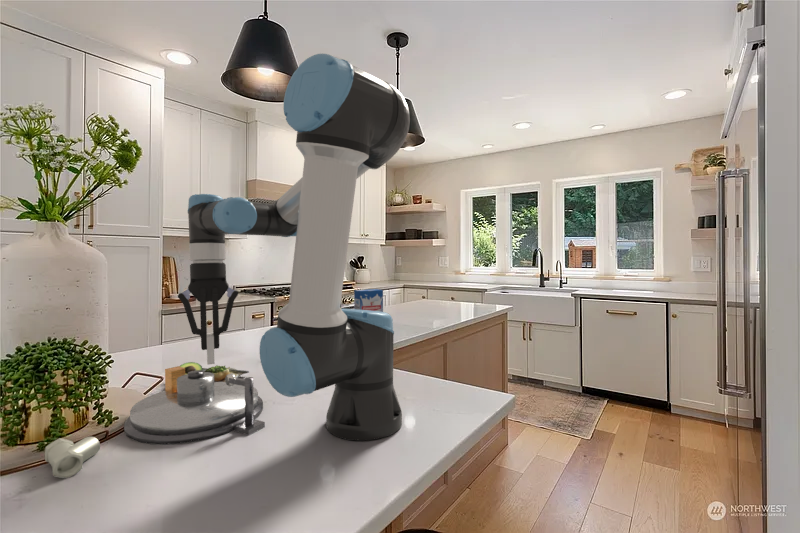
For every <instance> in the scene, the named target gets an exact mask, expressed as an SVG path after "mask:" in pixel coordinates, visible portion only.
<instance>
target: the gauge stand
mask: <svg viewBox="0 0 800 533" xmlns="http://www.w3.org/2000/svg"><path fill="white" fill-rule="evenodd" d="M225 382H226V384H227V385H228V386H233V385H235V384H236V385H241V386H245V421H243V422H241V423H239V424H237V425H235V426H234V431H233V432H236V433H239V434H244V435H248V436H250V435H252V434H254V433H255V432H258V431H259V429H260V430H261V429H264V428H265V427H266V424H265V423H266V422H265V421H264V420H262V421H261V420H258V419H254V394H253V387H254V377H252V376H251V377H250V376H248V377H245V378H241V377H238V378H237V377H236V376H235V374H233V373H231V374H228V375H226V377H225ZM263 427H264V428H263ZM257 430H258V431H257Z"/></svg>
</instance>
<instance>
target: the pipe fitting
mask: <svg viewBox="0 0 800 533" xmlns="http://www.w3.org/2000/svg"><path fill="white" fill-rule="evenodd" d="M100 449H101V443H100V441H99V439H98V438H96V437H95V436H86V437H84V438H82V439H80V440H79V441H77V442H75V443H74V442H73V440H70V439H66V438H60V437H59V438H57V439H56V440H53V441H52V442H50V443H49V444H48V445H47V446H45V448H44V460H45V462H46V463H49V464H50V466H51V468H52V470H51V471H52V472H51V473H52V475H53V476H54V477H56V478H59V479H68V478H71V477H73V476H74V475H76V474H78V472H80V471H81V470H82V469H83V464H84V462H85V461H88V460H89V459H90V458H92V457H93V456H94V455H96V454H98V453H99V451H100Z"/></svg>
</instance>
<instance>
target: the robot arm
mask: <svg viewBox="0 0 800 533" xmlns="http://www.w3.org/2000/svg"><path fill="white" fill-rule="evenodd" d="M286 86H287V87H286V89H285V91H284V92H285V93H284V97H283V114H284V116H285V120H286V122H287V124H288V126H290V127H291V128H292V130H294V131H296V141H295V147H296V148H297V149H298V150H299V152H300V153H301V155H302V157H303V158H304V160H303V167H302V177H301V178H299V180H298V181H297V182H295V183H294V184H293V185H292V186H291V187H290V188H289V189H288V190H287V191H285V192H284V193H283V194H282V195H281V196H280V197H279V198H278V199H277V200H275V202H273V203H266V202H265V203H264V202H255V201H249V200H248V199H246V198H244V197H240V196H237V197H231V196H230V197H226V198H223V197H222V196H220V195H216V194H208V193H199V194H192V195H190V196H189V197H188V205H187V215H188V218H187V219H188V238H189V239H188V240H189V246H188V248H189V252H188V253H189V260H190V261H191V262H192V263H190V264H189V278H190V283H189V284H188V286H187V289H185V290H184V291H183V292H179V293H178V295H177V298H178V299H179V301H180V302H181V303H182V304H183V307H184V310H185V314H186V318H187V321H188V323H189V326H190V327H189V328H190V329H191V330H190V331H191V333H192V334H193V335H197V336H199V337H200V342H201V343H200V346H201V347H200V348H201V350H202V351H205V350H206V357H207V358H206V364H207V365H215V350H216V349H219V348H220V335H221V334H222V333H225V332H227V331H228V328H229V324H230V321H231V316H232V315H231V314H232V311H233V307H234V301H235V300H236V298H237V297H238V295H239V292H238V290H236V289H233V288H231V287H230V286H229V283H228V282H227V268H226V263H225V262H224V261H225V260H226V259H227V258H226V235H244V236H267V237H268V236H270V237H281V238H289V237H295V242H294V243H295V245H294V252H293V253H294V254H293V261H292V270H291V280H290V289H289V290H290V291H289V297H288V298H289V300H288V302H287V303H286V304H285V305H284V306H283V307H282V308H280V309H279V310H278V314H277V324H276V327H272V328H271V327H270V329H268V330H266V331H265V332H264V333H263V335H262V336H261V338H260V342H259V359H260V364H261V368H262V371H263V373H264V375H265V377H266V379H267V381H268V382H269V384H270V385H271V386H272V388H273V389H274V390H275V391H276V392H277V393H279V394H280V395H282V396H284V397H288V398H294V397H299V396H302V395H310V394H312V393H314V392H316V391H319V390H323V389H325V388H327V387H331V386H334V389H333V393H332V396H331V400H330V403H329V405H328V406H329V407H328V409H327V412H326V429H327V431H328V432H329V433H330V434H332V435H333V436H335V437H337V438H341V439H344V440H349V441H350V440H351V441H370V440H371V441H372V440H373V441H374V440H377V439H382V438H383V439H384V438H386V437H388V436H391V435H393V434H395V433H396V432H398V431H399V430H400V429H401V427H402V424H403V414H402V408H401V405H400V402H399V399H398V395H397V393H396V389H395V386H394V335H395V331H394V322H393V317H392V316H391V314H389V313H388V312H385V311H383V312H380V311H371V310H359V309H354V308H342V307H341V308H340V303H341V304H342V295H343V294H342V293H343V287H344V279H345V270H346V262H347V255H348V247H349V239H350V232H351V223H352V217H353V208H354V200H355V192H356V186H357V185H356V184H357V179H359V178H360V177H362V176H363V174H365V173H366V172H368V171H369V170H378V169H380V168H381V167H382V166H383V165H385V164H386V163H388V161H390V160H391V159H392V158H393V157H394V156H395V155H396V154H398V152H399V150H400V149H401V148H402V146H403V145H404V143H405V141H406V140H407V137H408V133H409V132H410V131H409V130H410V122H411V118H410V117H411V116H410V110H409V106H408V103H407V102H406V99H405V97H404V95H403V93H401V92H400V91H399V90H398V89H397V88H396V86H393V84H391V83H390V82H387V81H385V80H382V79H380V78H378V77H376V76H374V75H373V74H370V73H368V72H366V71H364V70H362V69H360V68H358V67H357V66H355V65H353V64H351V63H350V61H348V60H345V59H342V58H337V57H335V56H334V55H331V54H328V53H317V54H314V55H313V54H312V55H311V56H308V57H307V58H305V60H303V61H302V62H301V63H300V65H299V66H298V67H297V69H296V70H294V72H293V74H292V75H291V77H290V79H289V81H288V83H287V85H286ZM226 292H227V293H226ZM225 293H226V296H227V301H226V306H225V310H224V315H223V320H222V322H221V326H220V321H219V320H220V319H219V318H220V317H219V314H220V313H219V301H220V300H222V298H223V296H224V295H225ZM190 294H191V295H192V296H193V297H194V298H195V300H196V301H197V302H199V306H200V308H199V309H200V328H198V326H197V323H196V319H195V315H194V313H193V309H192V307H191V302H190V299H191V296H190ZM209 302H210V303H211V304H212V305H211V308H212V310H211V311H212V334H211V333H210V334H208V332H207V331H208V329H207V326H208V325H207V303H209Z"/></svg>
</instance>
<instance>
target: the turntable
mask: <svg viewBox="0 0 800 533" xmlns="http://www.w3.org/2000/svg"><path fill="white" fill-rule="evenodd" d="M183 375H185V368H183V367H180V365H177V366H173V367H169V368H168V367H167V368H164V382H165V383H164V386H165V388H164V389H165V390H162V391H159V392H156V393H154V394H152V395H149V396H146V397H144V398H142V399H141V400H139V401H138V402H136V403H134V405H133V406H132V407H131V409H130V410H129V416H130V424H131V426H132V427H133V428H134V429H136V430H138V431H140V432H144V433H149V434H162V435H169V434H184V433H191V432H198V431H203V430H208V429H212V428H216V427H219V426H223V425H226V424H229V423H231V422H234V421H236V420H238V419H241V418H243V417H244V416H245V386H241V385H236V384H235V385H233V386H228V385H227V384H226V382H214V400H212V401H211V402H209V403H206V404H203V405H198V406H189V407H186V406H180V405H178V404H177V378H178V377H180V376H183ZM253 394H254V409H255V408H256V407H257V405H258V396H259V391H258V389H257V388H256V387H255V386H253Z"/></svg>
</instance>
